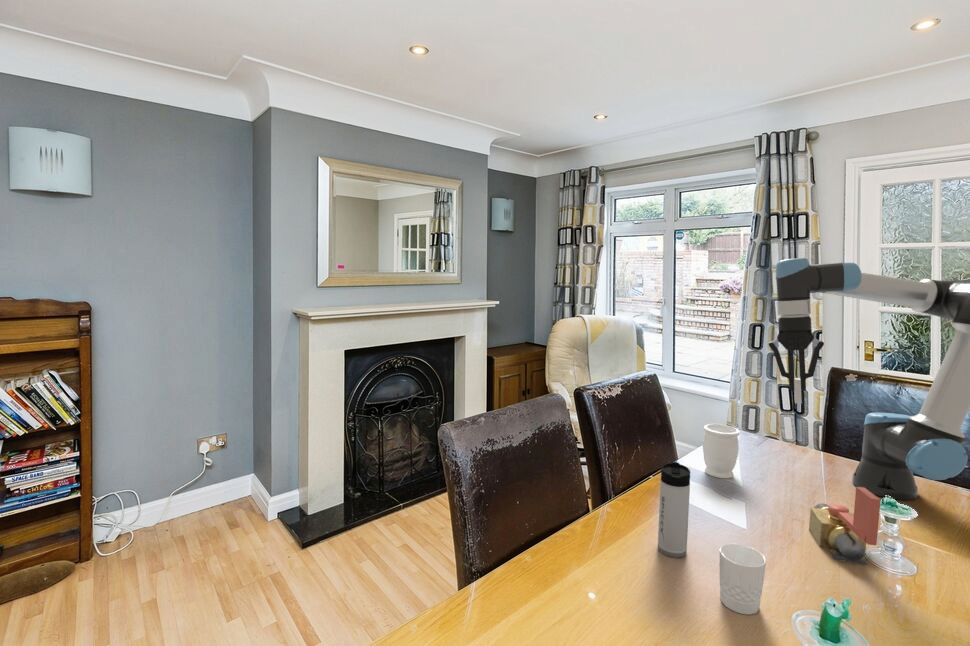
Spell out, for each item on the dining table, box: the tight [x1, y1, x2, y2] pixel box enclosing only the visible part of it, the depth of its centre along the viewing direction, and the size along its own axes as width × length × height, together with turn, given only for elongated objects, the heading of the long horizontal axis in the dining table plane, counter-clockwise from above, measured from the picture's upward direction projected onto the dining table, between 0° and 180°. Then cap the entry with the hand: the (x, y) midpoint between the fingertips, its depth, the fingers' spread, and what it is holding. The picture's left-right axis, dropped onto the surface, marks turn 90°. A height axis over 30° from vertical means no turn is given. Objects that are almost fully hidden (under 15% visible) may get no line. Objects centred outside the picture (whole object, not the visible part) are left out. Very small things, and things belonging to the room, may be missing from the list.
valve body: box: [808, 502, 867, 565], centre depth 116 cm, size 19×9×7 cm, turn 162°
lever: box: [827, 486, 882, 546], centre depth 110 cm, size 4×16×10 cm, turn 169°
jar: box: [702, 423, 740, 479], centre depth 156 cm, size 11×10×15 cm
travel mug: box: [657, 461, 691, 559], centre depth 112 cm, size 6×7×20 cm
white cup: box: [719, 543, 767, 616], centre depth 94 cm, size 8×8×10 cm
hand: (798, 402), depth 132 cm, fingers closed
